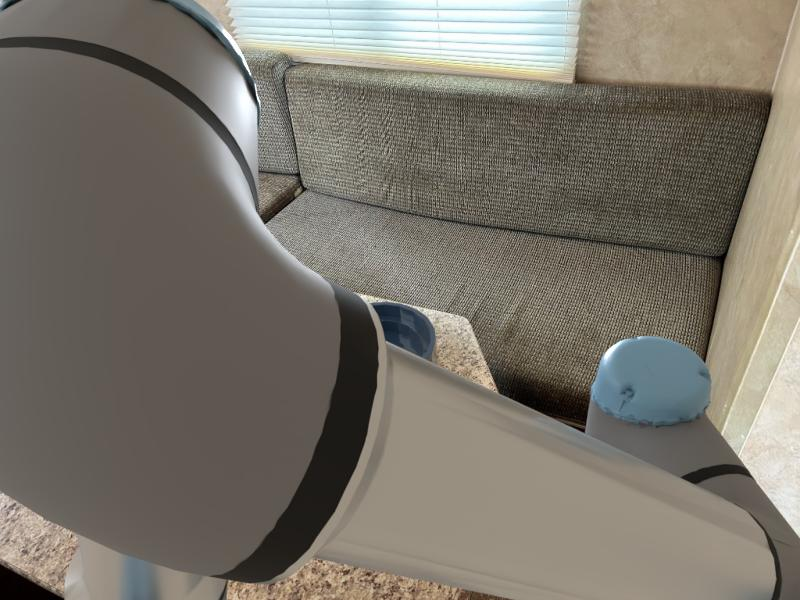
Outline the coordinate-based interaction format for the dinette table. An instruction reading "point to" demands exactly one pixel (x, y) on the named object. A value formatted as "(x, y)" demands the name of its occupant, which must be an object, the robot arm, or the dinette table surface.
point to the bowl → (407, 329)
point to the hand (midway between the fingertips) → (290, 390)
